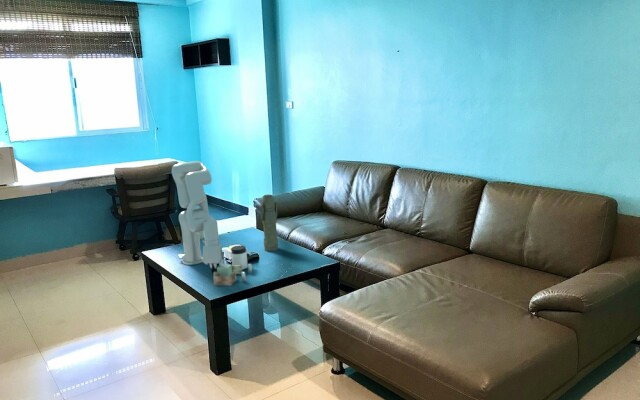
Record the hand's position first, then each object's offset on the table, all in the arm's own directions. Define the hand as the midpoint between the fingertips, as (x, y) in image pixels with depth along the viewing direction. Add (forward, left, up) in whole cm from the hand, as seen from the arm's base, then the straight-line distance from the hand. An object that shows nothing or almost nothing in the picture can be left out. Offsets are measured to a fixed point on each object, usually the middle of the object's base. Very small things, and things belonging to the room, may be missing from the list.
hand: (214, 274), depth 270 cm
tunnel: (+8, -3, -1) cm, 8 cm away
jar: (+10, +14, -2) cm, 17 cm away
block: (+6, 0, -1) cm, 6 cm away
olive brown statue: (+20, +47, -2) cm, 51 cm away
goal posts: (+18, 0, -1) cm, 18 cm away
